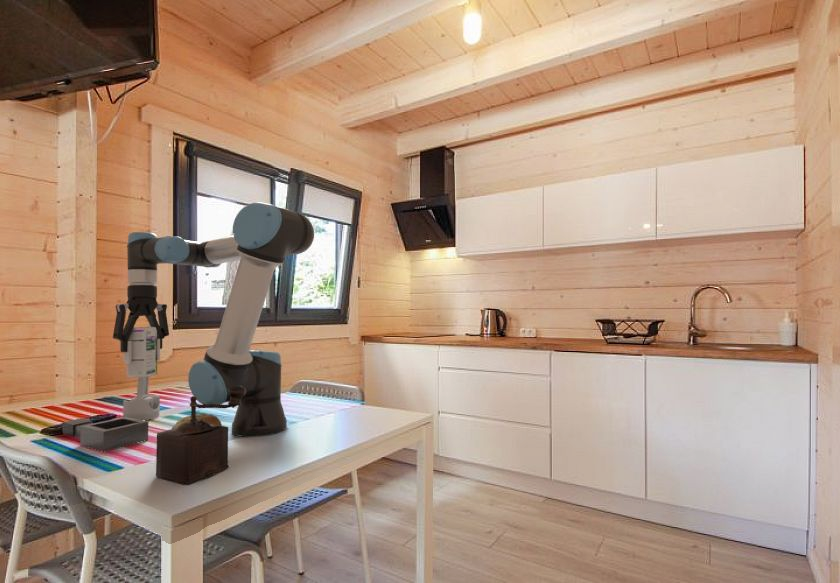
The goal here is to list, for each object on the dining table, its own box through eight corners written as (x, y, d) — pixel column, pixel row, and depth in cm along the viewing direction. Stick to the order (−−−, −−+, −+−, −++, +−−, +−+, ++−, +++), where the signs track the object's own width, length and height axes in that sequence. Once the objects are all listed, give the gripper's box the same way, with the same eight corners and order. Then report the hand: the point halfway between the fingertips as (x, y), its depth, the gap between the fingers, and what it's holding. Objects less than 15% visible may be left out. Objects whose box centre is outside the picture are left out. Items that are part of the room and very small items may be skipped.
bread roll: (233, 439, 121) (233, 410, 121) (184, 457, 107) (184, 423, 108) (207, 435, 125) (207, 406, 125) (157, 451, 111) (157, 419, 111)
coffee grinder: (189, 486, 90) (190, 396, 90) (154, 477, 94) (155, 392, 95) (249, 462, 104) (250, 384, 104) (216, 455, 108) (217, 380, 109)
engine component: (115, 421, 139) (147, 421, 139) (116, 356, 140) (148, 356, 140) (138, 413, 150) (167, 413, 150) (139, 352, 151) (168, 352, 151)
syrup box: (145, 377, 129) (146, 327, 129) (125, 377, 129) (125, 327, 129) (157, 374, 135) (157, 326, 135) (138, 374, 135) (138, 326, 135)
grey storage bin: (148, 440, 120) (148, 421, 120) (103, 452, 111) (103, 431, 111) (93, 426, 134) (93, 410, 134) (49, 436, 124) (49, 418, 124)
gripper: (168, 286, 144) (168, 357, 143) (97, 284, 126) (96, 365, 125) (182, 285, 140) (182, 358, 139) (112, 282, 122) (111, 366, 121)
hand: (142, 361), depth 132 cm, fingers closed on syrup box, 8 cm apart
